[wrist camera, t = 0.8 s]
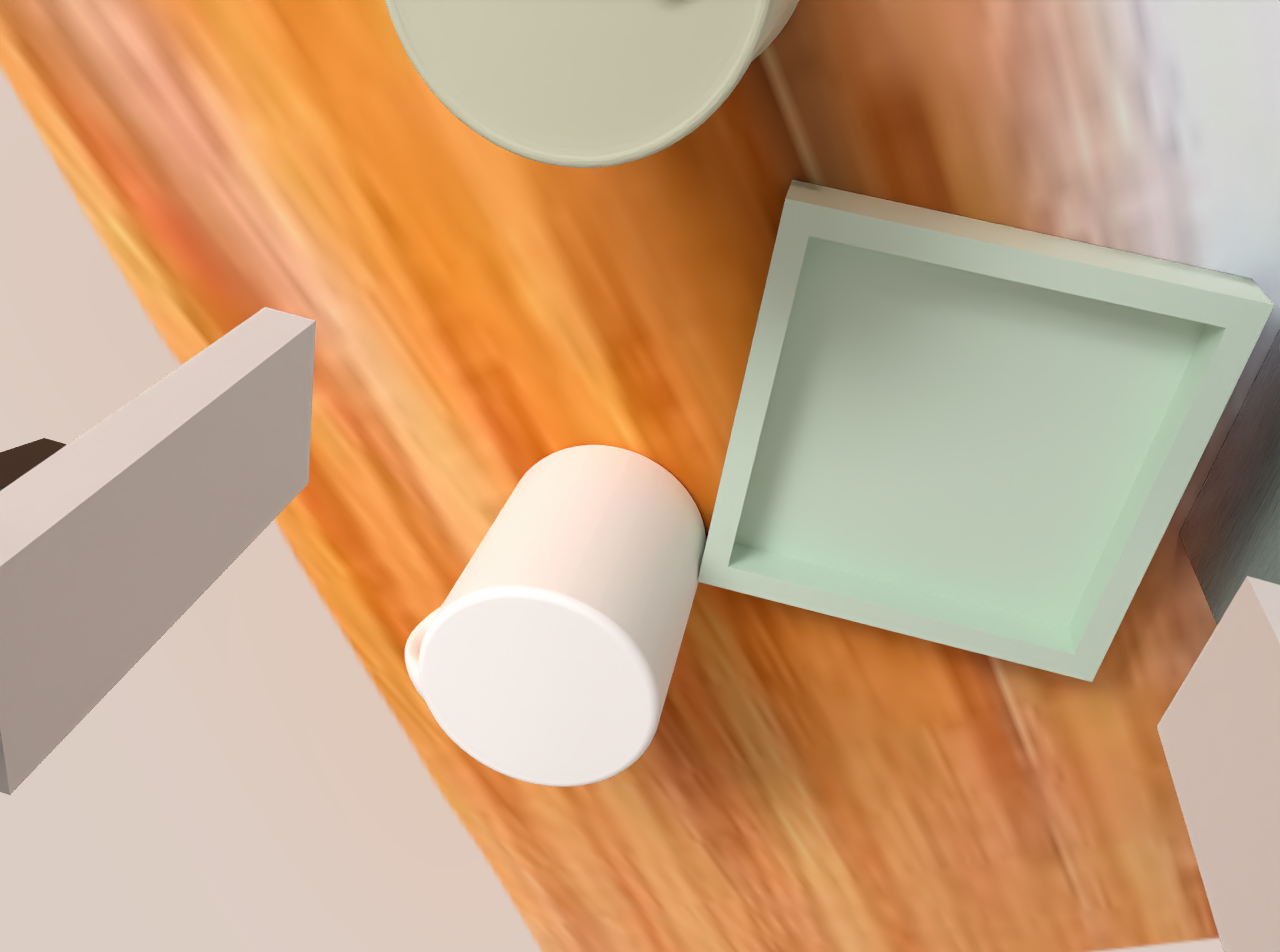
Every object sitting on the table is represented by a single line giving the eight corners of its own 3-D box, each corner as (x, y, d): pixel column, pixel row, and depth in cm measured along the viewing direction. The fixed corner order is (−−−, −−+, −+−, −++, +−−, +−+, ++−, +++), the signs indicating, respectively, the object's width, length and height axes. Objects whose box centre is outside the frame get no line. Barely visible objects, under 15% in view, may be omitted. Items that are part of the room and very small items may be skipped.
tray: (792, 179, 37) (785, 198, 34) (1251, 278, 35) (1274, 304, 33) (707, 547, 44) (697, 581, 42) (1082, 641, 43) (1092, 681, 41)
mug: (704, 754, 36) (421, 837, 40) (743, 578, 45) (507, 664, 49) (573, 555, 33) (287, 670, 38) (642, 410, 42) (403, 518, 47)
